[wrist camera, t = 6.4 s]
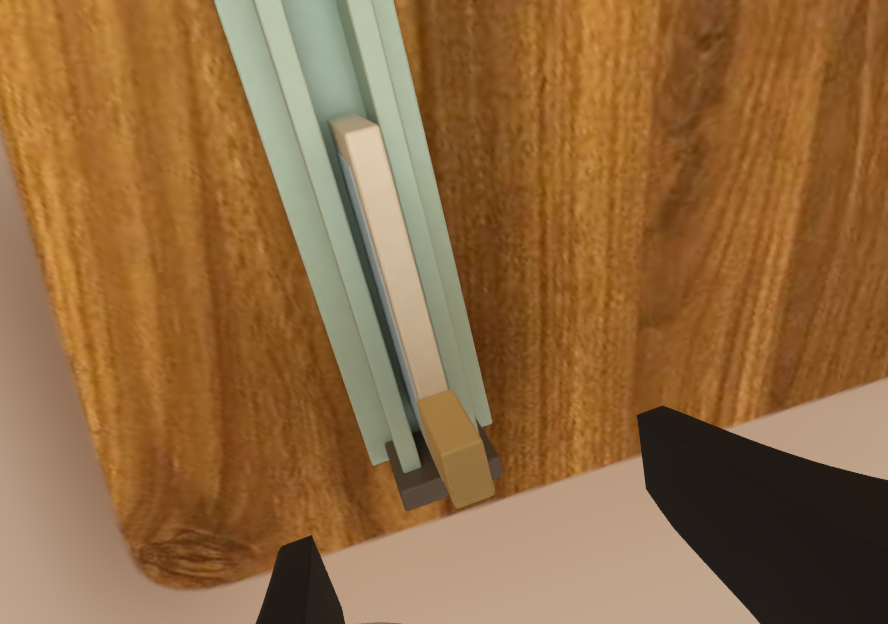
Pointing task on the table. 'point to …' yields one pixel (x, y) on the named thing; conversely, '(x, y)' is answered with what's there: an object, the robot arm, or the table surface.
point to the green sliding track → (330, 212)
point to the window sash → (408, 310)
